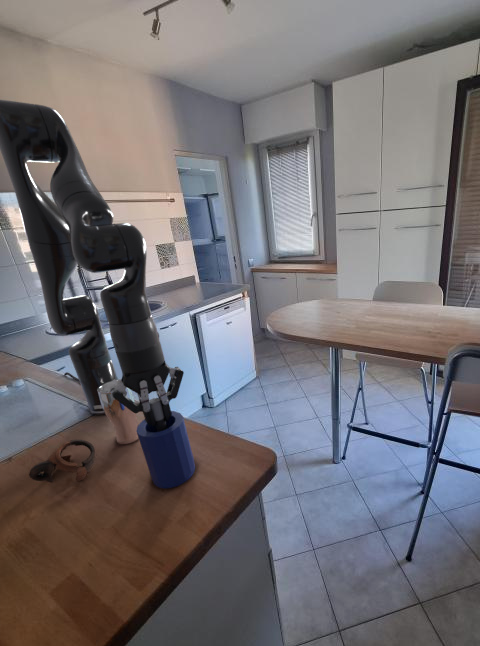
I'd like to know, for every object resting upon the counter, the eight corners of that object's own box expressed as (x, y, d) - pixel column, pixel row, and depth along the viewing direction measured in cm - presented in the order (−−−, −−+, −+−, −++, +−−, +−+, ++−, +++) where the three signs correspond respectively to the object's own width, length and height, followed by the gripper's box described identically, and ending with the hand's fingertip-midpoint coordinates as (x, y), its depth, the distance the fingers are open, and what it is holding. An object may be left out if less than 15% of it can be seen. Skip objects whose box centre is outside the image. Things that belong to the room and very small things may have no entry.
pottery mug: (80, 454, 81) (87, 430, 78) (100, 482, 78) (107, 459, 74) (19, 476, 71) (24, 449, 68) (38, 509, 67) (44, 483, 64)
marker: (163, 457, 71) (146, 400, 65) (173, 452, 72) (157, 396, 66) (166, 462, 69) (150, 405, 64) (177, 457, 70) (161, 400, 65)
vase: (147, 472, 73) (131, 423, 68) (186, 453, 78) (174, 406, 73) (160, 495, 67) (144, 443, 61) (201, 473, 72) (189, 423, 66)
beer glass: (123, 449, 81) (104, 396, 75) (109, 439, 85) (91, 388, 79) (149, 434, 86) (134, 383, 80) (135, 425, 90) (120, 376, 84)
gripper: (168, 327, 67) (186, 401, 74) (90, 348, 59) (118, 428, 66) (182, 336, 61) (199, 415, 68) (98, 360, 54) (128, 446, 60)
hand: (159, 421), depth 67 cm, fingers closed on marker, 2 cm apart
